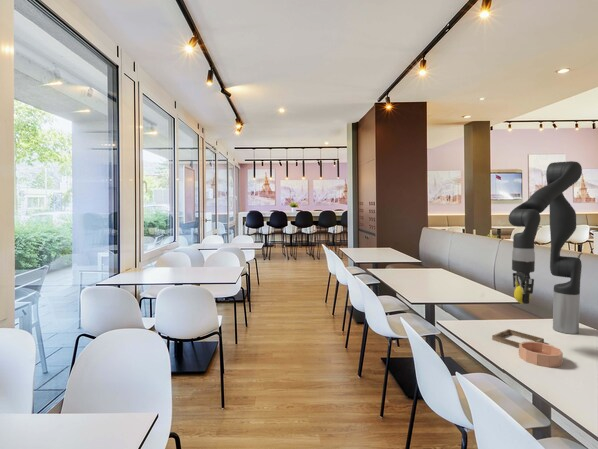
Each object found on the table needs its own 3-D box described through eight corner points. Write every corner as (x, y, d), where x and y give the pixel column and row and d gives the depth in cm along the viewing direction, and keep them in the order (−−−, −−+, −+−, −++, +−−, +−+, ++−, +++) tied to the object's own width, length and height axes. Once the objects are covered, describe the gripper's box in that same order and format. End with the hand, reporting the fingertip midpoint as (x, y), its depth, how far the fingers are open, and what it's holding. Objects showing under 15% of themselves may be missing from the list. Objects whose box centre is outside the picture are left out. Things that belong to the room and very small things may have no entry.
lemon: (533, 306, 133) (533, 286, 133) (517, 305, 134) (517, 285, 134) (526, 303, 138) (527, 283, 138) (511, 302, 140) (512, 282, 139)
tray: (508, 333, 150) (508, 329, 150) (543, 343, 139) (543, 338, 139) (492, 339, 143) (492, 335, 143) (528, 350, 131) (528, 346, 131)
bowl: (528, 349, 133) (528, 339, 133) (567, 361, 122) (567, 350, 122) (512, 357, 126) (512, 346, 126) (552, 370, 115) (552, 358, 115)
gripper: (505, 256, 143) (505, 296, 144) (520, 261, 129) (519, 305, 130) (525, 257, 142) (524, 297, 142) (542, 262, 128) (541, 306, 128)
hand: (522, 301), depth 136 cm, fingers closed on lemon, 5 cm apart
